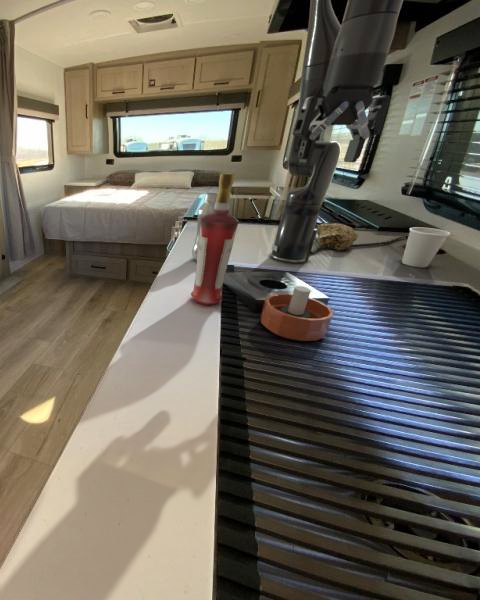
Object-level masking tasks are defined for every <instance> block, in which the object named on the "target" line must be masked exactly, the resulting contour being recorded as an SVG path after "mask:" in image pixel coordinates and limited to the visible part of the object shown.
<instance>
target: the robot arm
mask: <svg viewBox="0 0 480 600" xmlns="http://www.w3.org/2000/svg"><path fill="white" fill-rule="evenodd" d="M331 1H332V0H310V2H309V3H310V6H309V16H308V17H309V18H308V27H307V33H306V34H307V35H306V41H305V48H304V55H303V60H302V61H303V62H302V68H301V76H300V87H299V96H298V98H299V99H298V106H297V113H296V119H295V123H294V127H293V128H292V139H291V143H290V148H289V154H288V162H287V168H288V172H289V174H290V175H291V176H294V177H304V178H309V181H308V183H307V184H306V185H304V186H301V187H299V188H294V189H290V190H289V191H288V192H287V193H286V196H285V200H284V203H283V208H282V212H281V216H280V219H279V224H278V227H277V231H276V234H275V239H274V243H272V244H271V245H272V246H271V250H272V251H271V254H270V257H271V259H273V260H275V261H279V262H283V263H289V264H302V263H305V262H308V261H309V259H310V256H311V255H316V254H317V253H318V252H319V251H321V250H329V249H331V250H332V248H331V247H328V246H319V247H317V248H316V249H314V250H312V249H313V246H314V243H315V240H316V237H317V235H318V234H317V229H316V226H317V222H318V218H319V215H320V211H321V208H322V205H323V202H324V199H325V197H326V195H327V193H328V191H329V188H330V185H331V183H332V180H333V177H334V174H335V173H336V169H337V166H338V164H339V160H340V156H341V145H340V143H339V142H338V141H334V140H316V139H317V137H318V136H319V135H320V134H321V133H322V132H323V131H324V130H326V129H327V128H329V127H330V126H345V127H346V129H348V130H349V133H350V135H351V138H352V139H349V142H348V146H347V148H346V152H345V156H344V157H343V161H344V163H356V162H357V160H359V159H360V157H361V155H362V151H363V149H364V146H365V143H366V140H367V139H369V138H370V137H374V136H378V135H380V134H381V132H382V129H383V126H384V122H385V119H386V115H387V112H388V109H389V105H390V103H391V96H390V95H380V96H376V97H373V91H374V90H375V88H376V87H377V86H378V84H379V82H380V80H381V76H382V73H383V70H384V68H385V65H386V61H387V58H388V55H389V52H390V49H391V46H392V43H393V40H394V37H395V33H396V29H397V23H398V18H399V14H400V11H401V9H402V5H403V2H404V0H347V3H346V6H345V10H344V13H343V17H342V21H341V24H340V21H339V20H338V17H337V16H336V14H335V11H334V9H333V5H332V2H331ZM367 110H368V113H367V114H366V111H367ZM398 237H399V236H398ZM404 237H405V238H406V239H408V237H409V234H408V236H403V237H399V238H396V237H395V238H396V239H394V240H391V239H390V240H391V241H387V240H383V241H384V242H383V241H377V242H367V243H355V244H354V243H353V244H352V245H351V246H350V247H349V248H361V247H372V246H379V245H386V244H390V243H394V242H396V241H398V240H401V239H402V238H404ZM385 241H387V242H385ZM380 242H381V243H380Z"/></svg>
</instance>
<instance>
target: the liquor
mask: <svg viewBox="0 0 480 600" xmlns="http://www.w3.org/2000/svg"><path fill="white" fill-rule="evenodd" d="M235 176H236V173H233V172H221V173H220V175H219V180H218V192H217V193H218V195H217V199H216V203H215V207H214V211H213V213H211V214H208V215H206V216H204V217H203V218H202V219H201V225H200V234H199V244H198V256H197V260H196V268H195V276H194V284H193V290H192V291H191V293H190V296H191V297H192V298H193V300H194V301H195V302H196V303H198V304H199V305H203V306H213V305H216V304H217V303H219V302H220V301H222V300H223V296H222V290H223V286H224V283H223V282H224V277H225V273H227V269H228V264H229V261H230V257H231V253H232V249H233V247H234V242H235V238H236V234H237V230H238V225H239V220H238V219H237V218H236V217H235V216H234V215H232V214H230V203H231V202H230V201H231V191H232V188H233V185H234V183H235V182H234V181H235Z"/></svg>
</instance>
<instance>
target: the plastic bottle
mask: <svg viewBox="0 0 480 600" xmlns="http://www.w3.org/2000/svg"><path fill="white" fill-rule="evenodd" d="M217 195H218V192H205V196H204V199H203V200H204V202H203V203H202V204H201V206H200V207H199V208H198V210H197V216H196V217H197V224H196V225H197V226H196V235H195V240H194V244H193V247H192V250H191V256H192V258H193V260H195V261H197V256H198V244H199V234H200V225H201V219H202V218H203V217H204V216H206V215H208V214H211V213H213V211H214V207H215V203H216V199H217Z"/></svg>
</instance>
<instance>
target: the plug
mask: <svg viewBox="0 0 480 600" xmlns="http://www.w3.org/2000/svg"><path fill="white" fill-rule="evenodd" d="M310 292H311V290H310V289H309V288H307V287H303V286H296V287H295V288H294V292H293V295H292V298H291V302H290V305H289V306H286V307H282V308H281V310H280V311H281V312H283V313H286V314H289V315H292V316H296V317H302V318H309V319H310V313H309V312H307V311H306V310H305V307H306V304H307V301H308V298H309V295H310Z"/></svg>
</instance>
